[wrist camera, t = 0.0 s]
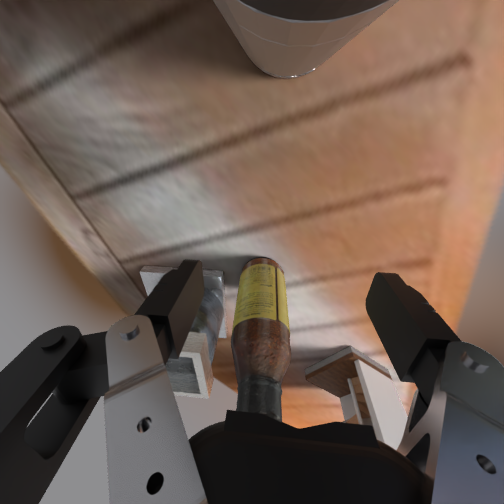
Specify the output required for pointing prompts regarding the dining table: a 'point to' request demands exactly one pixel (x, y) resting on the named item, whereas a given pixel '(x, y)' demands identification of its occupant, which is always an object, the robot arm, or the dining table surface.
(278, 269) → the sauce bottle
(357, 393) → the white tower
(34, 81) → the dining table surface
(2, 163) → the dining table surface
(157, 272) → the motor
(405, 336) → the robot arm
